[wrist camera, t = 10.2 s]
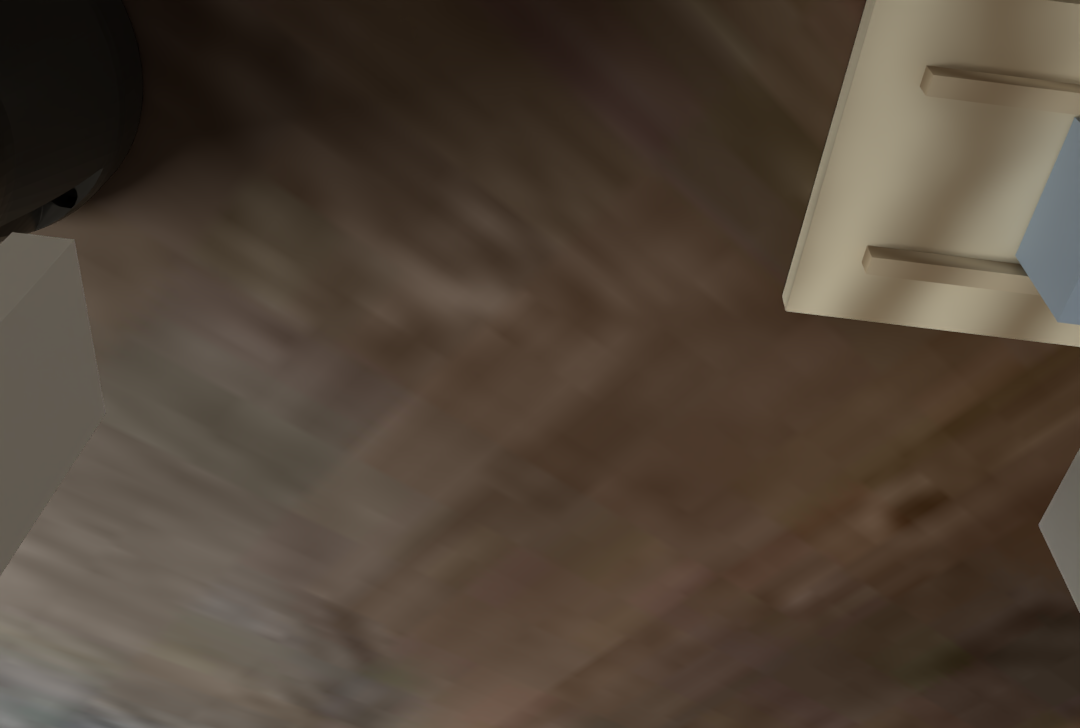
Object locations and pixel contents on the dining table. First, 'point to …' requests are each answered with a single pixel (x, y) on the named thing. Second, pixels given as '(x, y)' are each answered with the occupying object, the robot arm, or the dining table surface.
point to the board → (941, 167)
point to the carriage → (1057, 235)
